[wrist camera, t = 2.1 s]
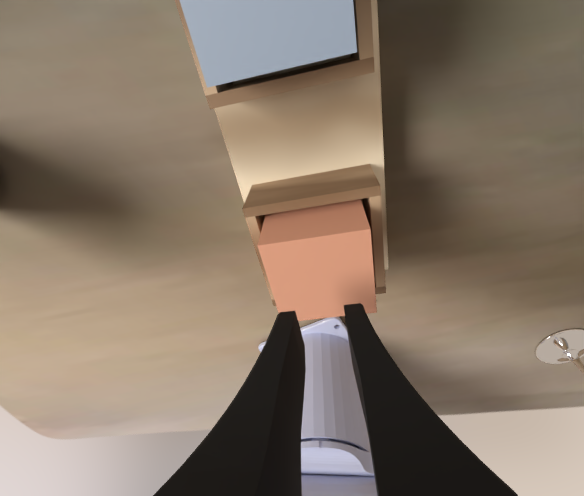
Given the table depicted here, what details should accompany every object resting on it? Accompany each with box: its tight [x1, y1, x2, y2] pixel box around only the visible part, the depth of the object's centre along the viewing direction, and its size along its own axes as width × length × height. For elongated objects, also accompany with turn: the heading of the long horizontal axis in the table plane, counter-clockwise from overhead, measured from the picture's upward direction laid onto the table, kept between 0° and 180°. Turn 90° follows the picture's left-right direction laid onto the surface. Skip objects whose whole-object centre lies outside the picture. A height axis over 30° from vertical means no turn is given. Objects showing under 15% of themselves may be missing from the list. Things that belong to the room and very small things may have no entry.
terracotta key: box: [258, 199, 377, 321], centre depth 15 cm, size 5×5×3 cm
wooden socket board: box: [175, 0, 389, 306], centre depth 15 cm, size 19×8×5 cm, turn 12°
